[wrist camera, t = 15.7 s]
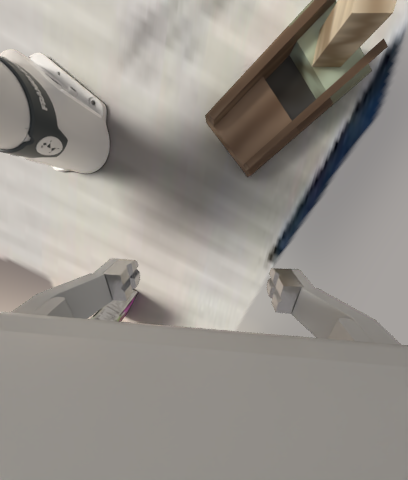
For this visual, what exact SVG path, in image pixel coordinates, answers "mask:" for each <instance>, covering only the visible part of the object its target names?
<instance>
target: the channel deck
mask: <svg viewBox="0 0 408 480" xmlns="http://www.w3.org/2000/svg"><path fill="white" fill-rule="evenodd" d="M336 3H337V2H336V0H312V1H311V2H310V3H309V4H308V5H307V6H306V7H305V8H304V10H303V11H302V12H301V13H300V14H299V15H298V16H297V17H296V18H295V19H294V20H293V21H292V23H291V24H290V25H289V26H288V27H287V28H286V29H285V30H284V31H283V32H282V33H281V34H280V35H279V37H278V38H277V39H276V40H275V41H274V42H273V43H272V44H271V45H270V46H269V47H268V48H267V49H266V51H265V52H264V53H263V54H262V55H261V56H260V57H259V58H258V59H257V60H256V61H255V62H254V63H253V65H252V66H251V67H250V68H249V69H248V70H247V71H246V72H245V73H244V74H243V75H242V76H241V78H240V79H239V80H238V81H237V82H236V83H235V84H234V85H233V86H232V87H231V88H230V89H229V90H228V92H227V93H226V94H225V95H224V96H223V97H222V98H221V99H220V100H219V101H218V102H217V103H216V104H215V106H214V107H213V108H212V109H211V110H210V111H209V112H208V113H207V114H206V115H205V117H206V123H207V124H208V125H209V127H210V128H211V129H212V131H213V132H214V133H215V135H216V136H217V137H218V139H219V140H220V141H221V142H222V144H223V145H224V146H225V148H226V149H227V150H228V152H229V153H230V154H231V156H232V157H233V158H234V160H235V161H236V162H237V164H238V165H239V166H240V168H241V169H242V170H243V172H244V173H245V174H246V176H247V177H249V176H251V175H252V174H253V173H254V172H255V171H257V170H258V169H259V168H260V167H261V166H262V165H264V164H265V163H266V162H267V161H268V160H269V159H270V158H272V157H273V156H274V155H275V154H276V153H277V152H279V151H280V150H281V149H282V148H283V147H284V146H286V145H287V144H288V143H289V142H290V141H291V140H292V139H294V138H295V137H296V136H297V135H298V134H299V133H301V132H302V131H303V130H304V129H305V128H306V127H307V126H309V125H310V124H311V123H312V122H313V121H314V120H316V119H317V118H318V117H319V116H320V115H321V114H323V113H324V112H325V111H326V110H327V109H328V108H329V107H331V106H332V105H333V104H334V103H335V102H336V101H338V100H339V99H340V98H341V97H342V96H343V95H345V94H346V93H347V92H348V91H349V90H350V89H351V88H353V87H354V86H355V85H356V84H357V83H358V82H360V81H361V80H362V79H363V78H364V77H365V76H366V75H368V74H369V73H370V72H371V71H372V70H371V68H370V66H369V64H368V63H370V62H371V61H372V60H373V59H374V58H375V57H376V56H377V55H379V54H380V53H381V52H382V51H383V50H384V49H385V48H387V47H388V46H387V44H386V42H385V40H384V39H383V40H382V41H381V42H379V43H378V44H377V45H376V46H375V47H374V48H373V49H372V50H370V51H369V52H368V53H367V54H366V55H365V56H364V54H363V52H362V50H361V49H360V47H359V48H358V49H357V50H356V51H355V52H354V53H353V55H352V56H351V57H350V58H349V59H348V60H347V61H346V62H345V63H344V64H343V65H342V66H341V67H312V64H313V59H314V54H315V49H316V45H317V40H318V35H319V31H320V29H321V27H322V25H323V24H324V22H325V21H326V19H327V17H328V16H329V14H330V13H331V11H332V9H333V8H334V6H335V5H336Z"/></svg>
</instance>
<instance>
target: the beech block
mask: <svg viewBox="0 0 408 480" xmlns="http://www.w3.org/2000/svg"><path fill="white" fill-rule="evenodd" d="M396 1H397V0H338V1H337V3H336V5H335V6H334V8H333V9H332V11H331V13H330V14H329V16H328V17H327V19H326V21H325V22H324V24H323V25H322V27H321V29H320V31H319V35H318V40H317V45H316V49H315V54H314V59H313V64H312V67H341V66H342V65H343V64H344V63H345V62H346V61H347V60H348V59H349V58H350V57H351V56H352V55H353V53H354V52H355V51H356V50H357V49H358V48H359V47H360V46H361V45H362V44H363V43H364V42H365V41H366V40H367V39H368V38H369V37H370V36H371V35H372V34H373V33H374V32H375V31H376V30H377V29H378V28H379V27H380V26H381V25H382V24H383V23H384V22H385V21H386V19H387V18H388V17H389V16H390V15H391V14H392V13H393V11H394V7H395V4H396Z"/></svg>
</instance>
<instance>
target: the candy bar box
mask: <svg viewBox="0 0 408 480" xmlns="http://www.w3.org/2000/svg"><path fill="white" fill-rule="evenodd" d="M132 291H133V293H132V294H131V296H130V297H129V299H128V300H127V301H116V300H112V302H110V303H109V304H107V305H106V306H105V307H103V308H102V309H100V310H99V311H98V312H97V313H96V314H95V315H94V316H93V317H92V318H91V319H95V320H107V321H119V322H121V321H122V320H123V318H124V317H125V315H126V314H127V312H128V310H129V308H130V306H131V305H132V303H133V301H134V299H135V297H136V296H137V294H138V292H137V291H136V290H134V289H132Z"/></svg>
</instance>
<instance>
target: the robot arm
mask: <svg viewBox="0 0 408 480" xmlns="http://www.w3.org/2000/svg"><path fill="white" fill-rule="evenodd" d="M94 103H95V105H94ZM106 115H107V111H106V106H105V104H104V103H103V102H102V101H100V100H99V99H98V98H97V97H96V96H94V95H93V94H92V93H91V92H89V91H88V90H87V89H86V88H85V87H83V86H82V85H81V84H80V83H79V82H77V81H76V80H75V79H74V78H72V77H71V76H70V75H69V74H68V73H66V72H65V71H64V70H63V69H61V68H60V67H59V66H58V65H57V64H55V63H54V62H53V61H52V60H50V59H49V58H48V57H47V56H45V55H44V54H42V53H40V52H38V53H35V54H32V55H31V56H29V57H26V56H25V55H23V54H22V53H20V52H19V51H17V50H15V49H8V50H5V51H3V52H2V53H1V54H0V152H3V153H7V154H10V155H14V156H18V157H19V156H21V157H23V158H24V159H27V160H30V161H34V162H37V163H41V164H45V165H49V166H52V167H53V168H54V169H55V170H57V171H61V172H65V171H75V172H78V173H92V172H95V171H97V170H98V169H100V168H101V167H102V166H103V164H104V163H105V161H106V159H107V157H108V154H109V148H110V140H109V134H108V130H107V126H106ZM137 267H138V263H137V261H136V260H127V259H110V260H108V261H107V262H106V263H105V264H104V265H102V266H101V267H100V268H99V269H98V270H96V271H95V272H94V273H93V274H88V275H85V276H82V277H80V278H77V279H75V280H72V281H70V282H67V283H64V284H62V285H59V286H57V287H54V288H51V289H49V290H46V291H44V292H41V293H39V294H36V295H35V296H33V297H32V298H30V299H29V300H28V301H26V302H25V303H23V304H22V305H20V306H19V307H18V308H16V309H15V310H13V311H12V312H0V480H408V345H401V344H400V343H399V342H398V341H397V340H396V339H395V338H394V337H393V336H392V335H391V334H390V333H389V332H388V331H387V330H385V329H384V328H383V327H382V326H381V325H380V324H379V323H378V322H377V321H376V320H375V319H373V318H371V317H369V316H367V315H366V314H363V313H362V312H360V311H358V310H356V309H355V308H353V307H351V306H349V305H347V304H346V303H344V302H342V301H340V300H338V299H337V298H335V297H333V296H331V295H329V294H327V293H326V292H324V291H322V290H320V289H318V288H315V287H314V286H313V285H312V284H311V283H310V281H309V280H308V279H307V278H306V276H305V275H304V274H303V273H302V272H301V270H299V269H275V268H271V270H270V273H269V275H270V277H271V278H270V279H269V280H268V282H267V292H268V295H269V297H270V298H272V305H273V307H274V310H275V312H279V313H290V314H292V315H293V316H294V317H295V318H296V319H297V320H298V321H299V322H300V323H301V324H302V325H303V326H304V327H305V328H306V329H308V330H309V331H310V332H311V333H312V334H313V335H314V336H315V337H316V338H312V337H299V336H286V335H274V334H263V333H251V332H239V331H227V330H216V329H203V328H191V327H179V326H167V325H155V324H143V323H131V322H119V321H107V320H95V319H87V318H89V317H90V316H92V315H93V314H94V313H96V312H97V311H99V310H100V309H102V308H103V307H105V306H106V305H107V304H109V303H110V302H112V300H116V301H127V300H128V299H129V297H130V296H131V294H132V293H133V291H132V289H134V288H136V287H137V285H138V284H139V281H140V272H139V271H138V270H137Z"/></svg>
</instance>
